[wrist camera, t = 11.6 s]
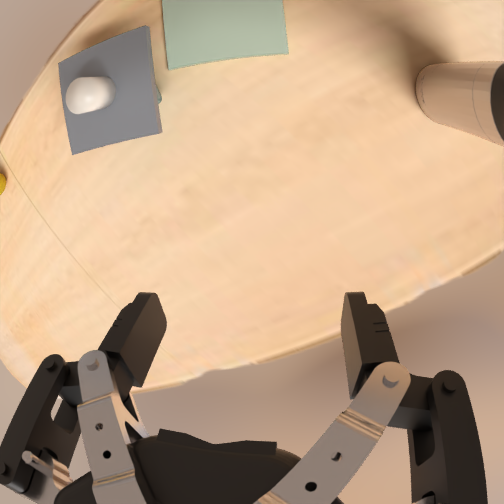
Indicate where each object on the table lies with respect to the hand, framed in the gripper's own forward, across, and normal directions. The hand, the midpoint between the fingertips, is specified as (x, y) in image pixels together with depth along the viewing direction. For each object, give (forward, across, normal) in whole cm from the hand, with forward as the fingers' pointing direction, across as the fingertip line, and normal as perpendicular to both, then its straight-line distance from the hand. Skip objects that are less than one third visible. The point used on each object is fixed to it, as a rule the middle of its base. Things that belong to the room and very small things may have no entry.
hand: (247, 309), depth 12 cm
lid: (+21, +18, -12) cm, 30 cm away
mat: (+30, +5, -22) cm, 38 cm away
